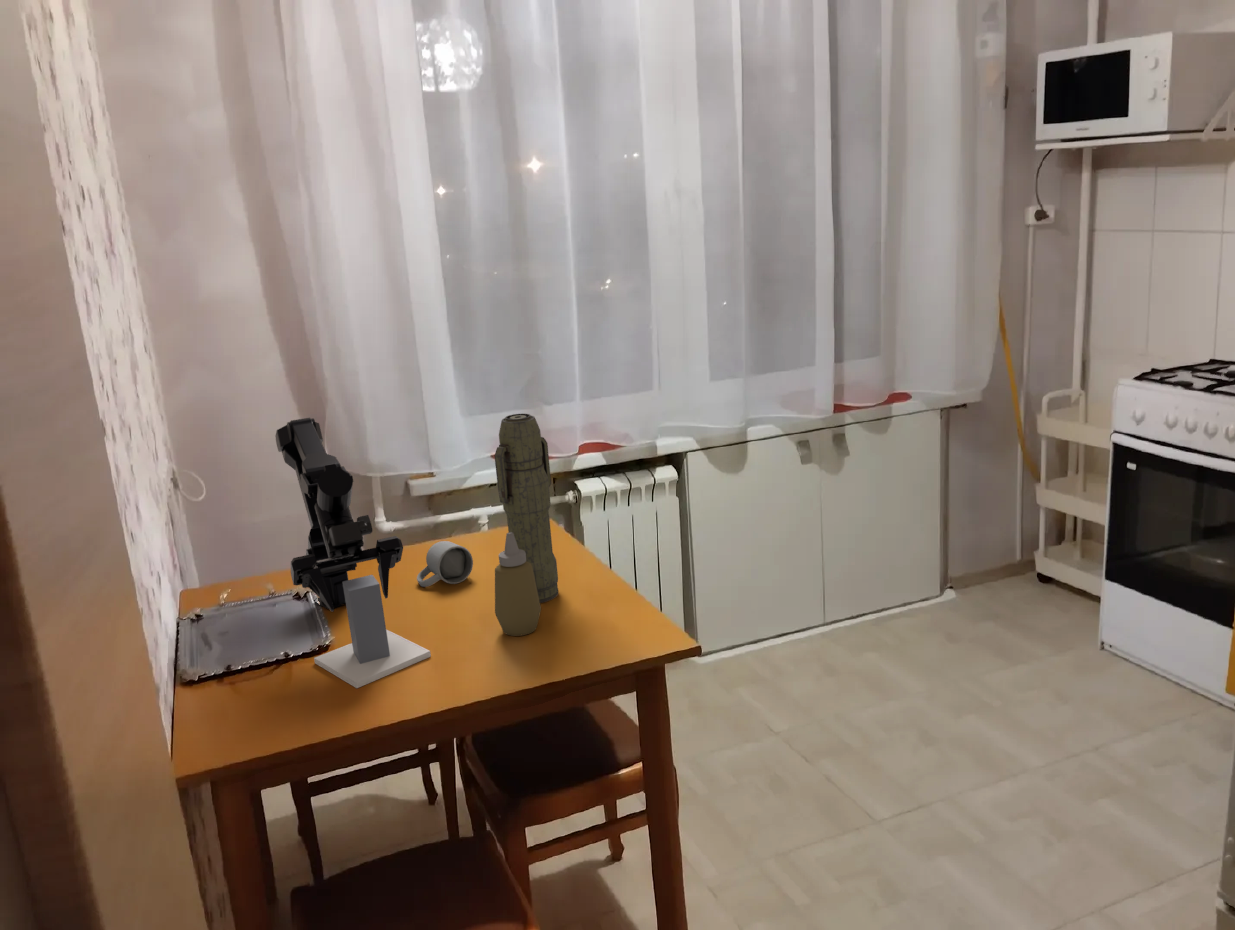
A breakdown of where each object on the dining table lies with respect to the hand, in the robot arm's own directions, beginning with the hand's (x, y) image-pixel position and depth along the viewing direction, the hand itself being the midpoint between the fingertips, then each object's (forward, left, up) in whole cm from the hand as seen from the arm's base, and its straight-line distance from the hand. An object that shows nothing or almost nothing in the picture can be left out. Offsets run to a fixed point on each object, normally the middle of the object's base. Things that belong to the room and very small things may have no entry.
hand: (359, 603), depth 167 cm
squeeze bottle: (+15, +22, -9) cm, 28 cm away
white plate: (+4, -1, -9) cm, 10 cm away
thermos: (+5, +34, -9) cm, 35 cm away
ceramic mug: (-17, +27, -9) cm, 33 cm away
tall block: (+4, -1, -8) cm, 9 cm away
